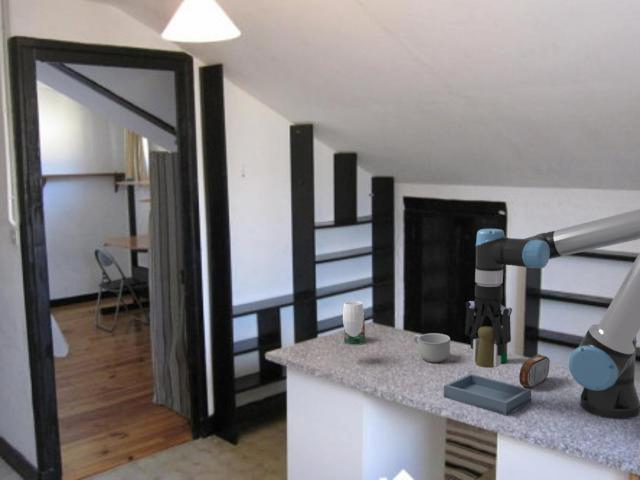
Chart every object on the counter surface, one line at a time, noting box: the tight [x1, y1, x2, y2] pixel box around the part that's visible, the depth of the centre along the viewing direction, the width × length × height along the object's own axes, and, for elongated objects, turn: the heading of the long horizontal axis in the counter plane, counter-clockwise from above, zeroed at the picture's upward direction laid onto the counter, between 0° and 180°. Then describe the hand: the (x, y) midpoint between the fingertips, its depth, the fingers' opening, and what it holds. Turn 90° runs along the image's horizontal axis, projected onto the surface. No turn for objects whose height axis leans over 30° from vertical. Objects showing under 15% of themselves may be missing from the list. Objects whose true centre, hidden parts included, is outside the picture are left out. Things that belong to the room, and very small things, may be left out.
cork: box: [475, 325, 495, 369], centre depth 184 cm, size 6×6×11 cm
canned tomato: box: [343, 313, 366, 346], centre depth 244 cm, size 8×8×11 cm
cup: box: [342, 300, 365, 337], centre depth 220 cm, size 7×7×21 cm
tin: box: [518, 353, 551, 389], centre depth 197 cm, size 15×3×8 cm, turn 134°
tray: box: [443, 373, 532, 416], centre depth 186 cm, size 20×14×4 cm
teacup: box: [412, 332, 451, 363], centre depth 223 cm, size 14×11×8 cm
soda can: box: [495, 325, 509, 364], centre depth 219 cm, size 5×5×12 cm
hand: (486, 363), depth 185 cm, fingers closed on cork, 6 cm apart
